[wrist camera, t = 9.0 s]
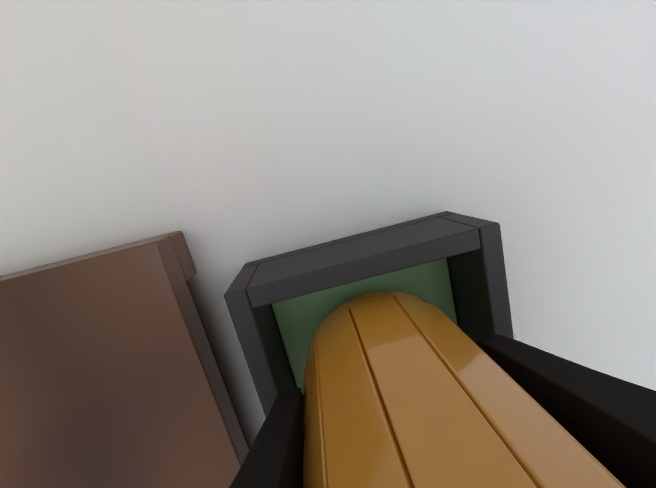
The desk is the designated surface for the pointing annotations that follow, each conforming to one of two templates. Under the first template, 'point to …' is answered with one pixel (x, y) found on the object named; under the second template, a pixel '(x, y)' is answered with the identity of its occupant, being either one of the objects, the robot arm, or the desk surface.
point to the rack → (366, 289)
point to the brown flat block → (112, 376)
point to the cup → (425, 408)
